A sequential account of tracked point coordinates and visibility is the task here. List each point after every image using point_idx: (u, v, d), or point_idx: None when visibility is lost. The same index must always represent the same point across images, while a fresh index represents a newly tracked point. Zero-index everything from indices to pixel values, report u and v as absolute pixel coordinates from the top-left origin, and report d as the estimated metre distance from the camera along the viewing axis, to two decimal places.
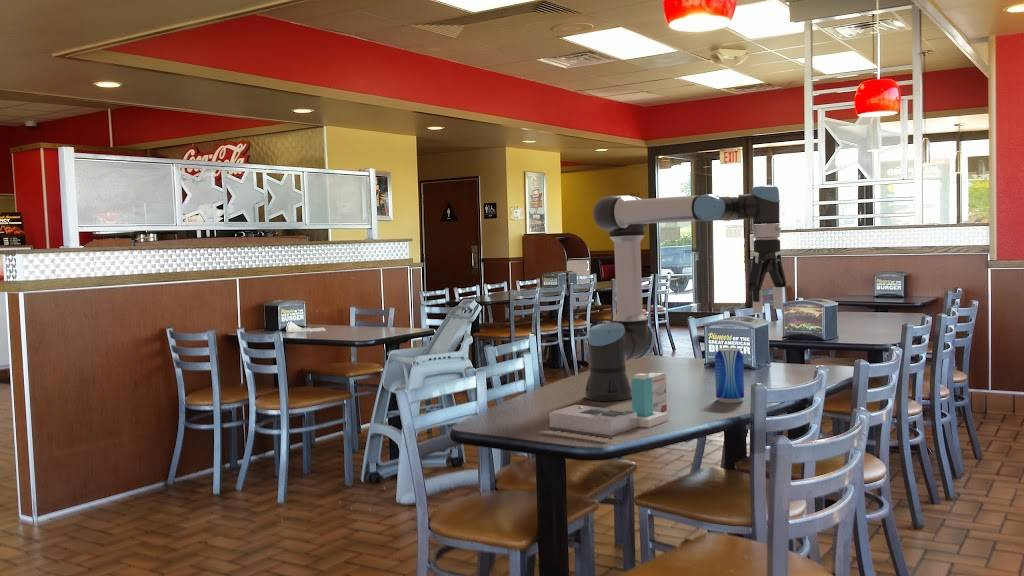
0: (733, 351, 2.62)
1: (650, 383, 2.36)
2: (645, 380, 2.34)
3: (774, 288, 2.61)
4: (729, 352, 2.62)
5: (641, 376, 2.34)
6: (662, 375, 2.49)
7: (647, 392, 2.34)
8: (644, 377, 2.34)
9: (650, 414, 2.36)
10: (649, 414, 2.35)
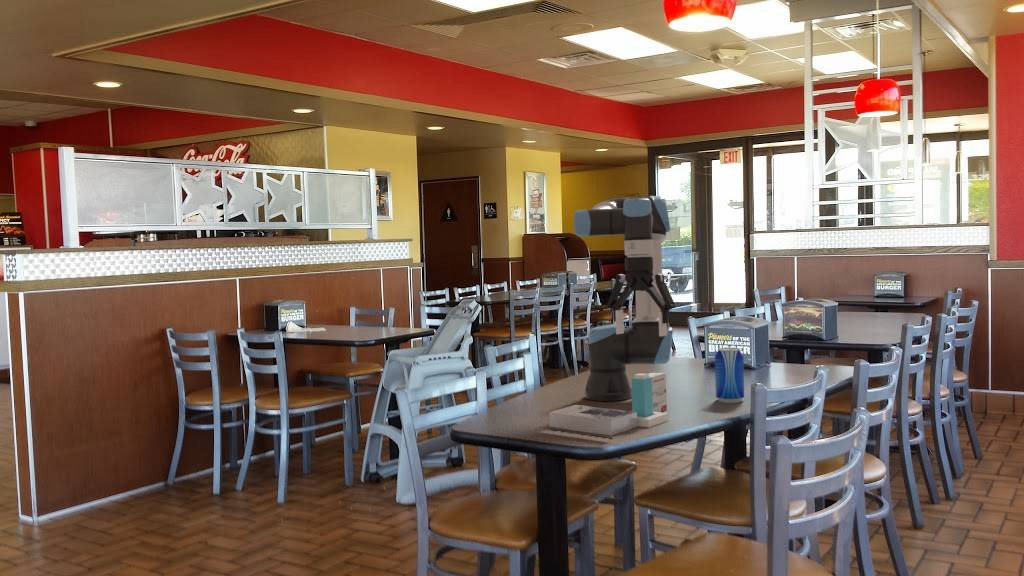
0: (733, 351, 2.62)
1: (650, 383, 2.36)
2: (645, 380, 2.34)
3: None
4: (729, 352, 2.62)
5: (641, 376, 2.34)
6: (662, 375, 2.49)
7: (647, 392, 2.34)
8: (644, 377, 2.34)
9: (650, 414, 2.36)
10: (649, 414, 2.35)
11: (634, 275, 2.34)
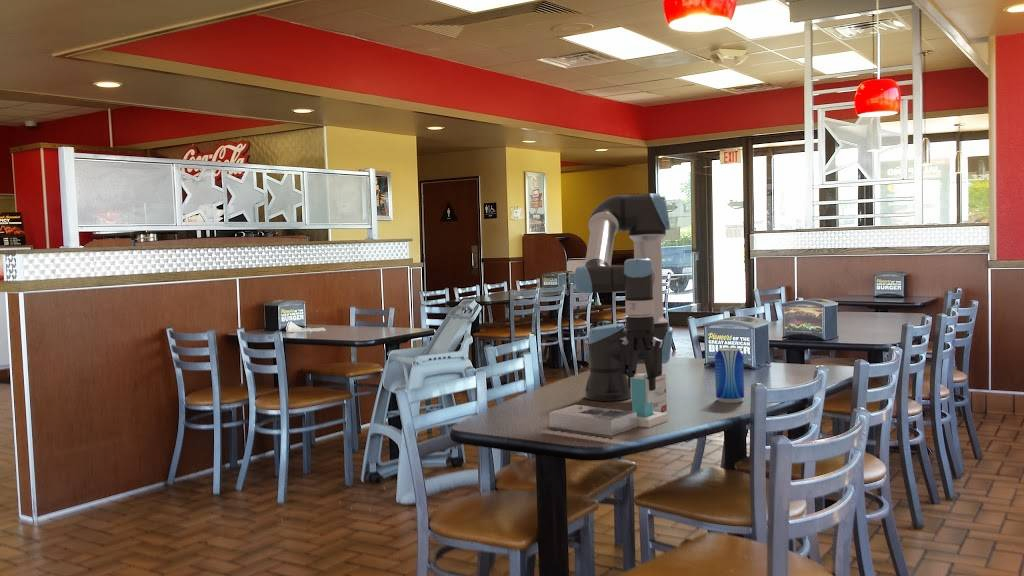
0: (733, 351, 2.62)
1: None
2: None
3: None
4: (729, 352, 2.62)
5: (641, 376, 2.34)
6: (662, 375, 2.49)
7: None
8: (644, 377, 2.34)
9: (650, 414, 2.36)
10: (649, 414, 2.35)
11: (633, 331, 2.35)
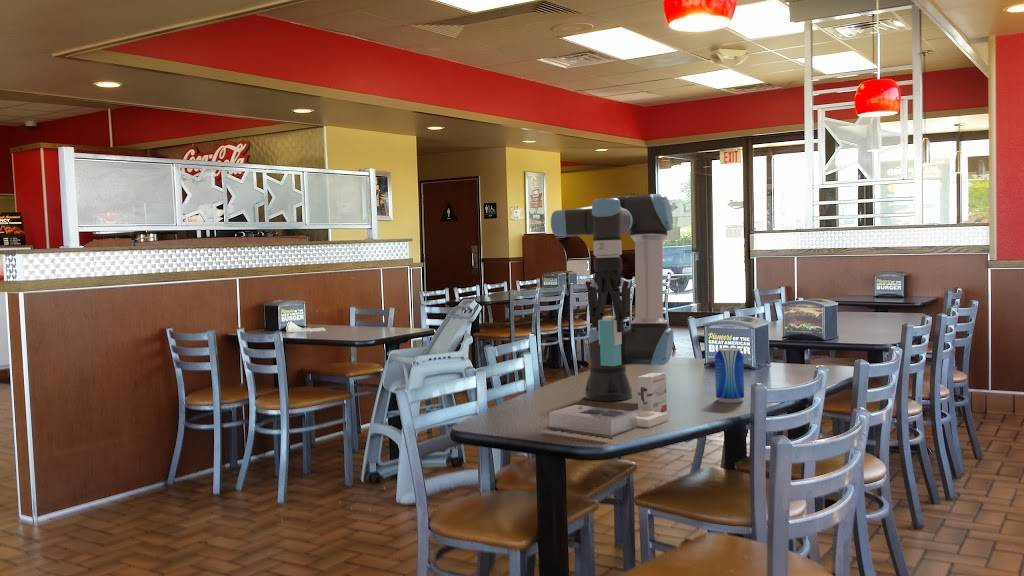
0: (733, 351, 2.62)
1: None
2: None
3: None
4: (729, 352, 2.62)
5: (609, 318, 2.31)
6: (662, 375, 2.49)
7: None
8: (612, 319, 2.31)
9: (618, 357, 2.32)
10: (617, 357, 2.32)
11: (601, 272, 2.32)
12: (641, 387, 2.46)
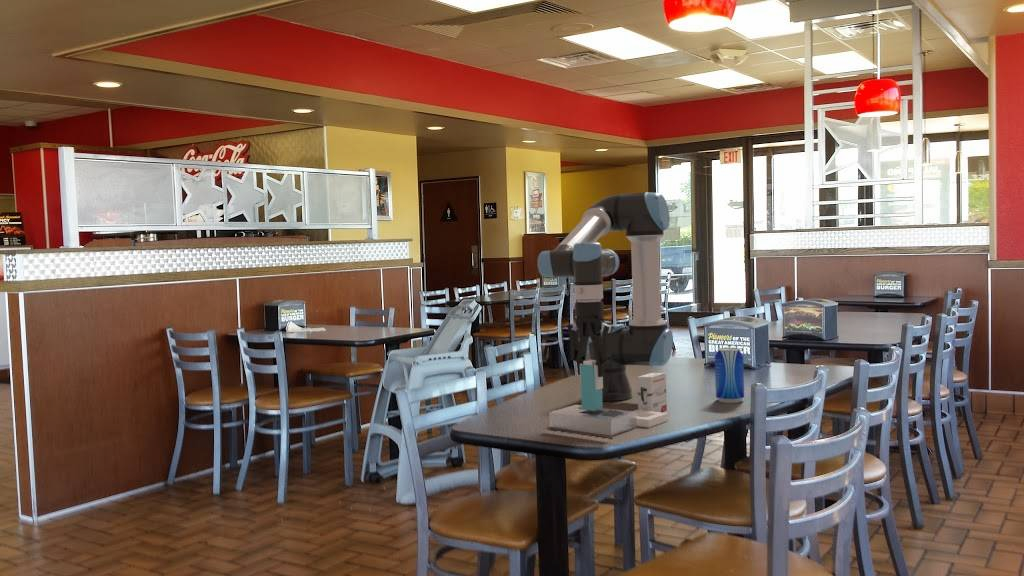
0: (733, 351, 2.62)
1: None
2: None
3: None
4: (729, 352, 2.62)
5: (590, 362, 2.30)
6: (662, 375, 2.49)
7: None
8: (593, 363, 2.30)
9: (599, 401, 2.32)
10: (598, 401, 2.31)
11: (582, 316, 2.31)
12: (641, 387, 2.46)
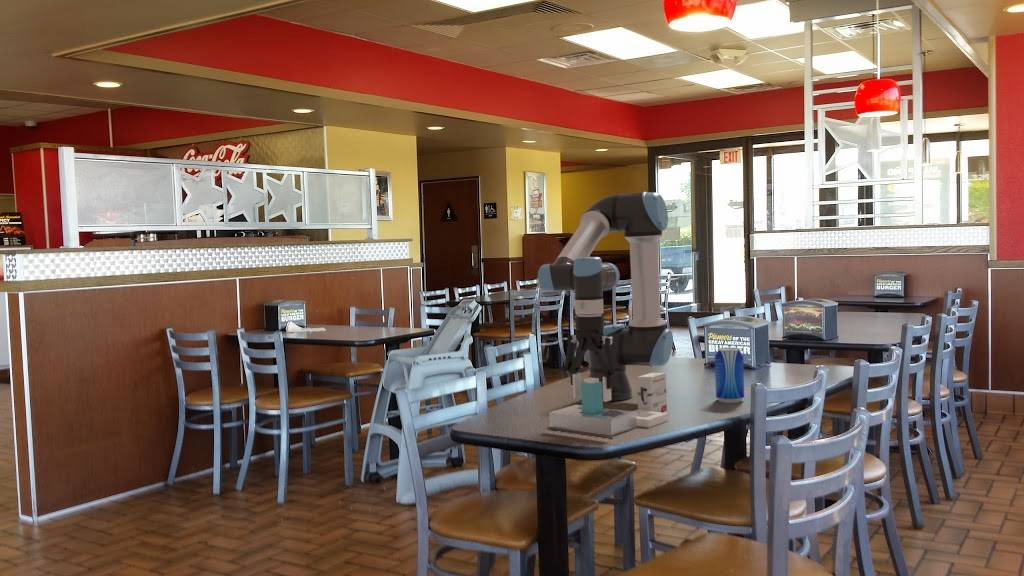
0: (733, 351, 2.62)
1: (600, 387, 2.32)
2: (595, 384, 2.30)
3: None
4: (729, 352, 2.62)
5: (591, 380, 2.30)
6: (662, 375, 2.49)
7: (597, 397, 2.31)
8: (594, 381, 2.31)
9: None
10: None
11: (584, 332, 2.31)
12: (641, 387, 2.46)
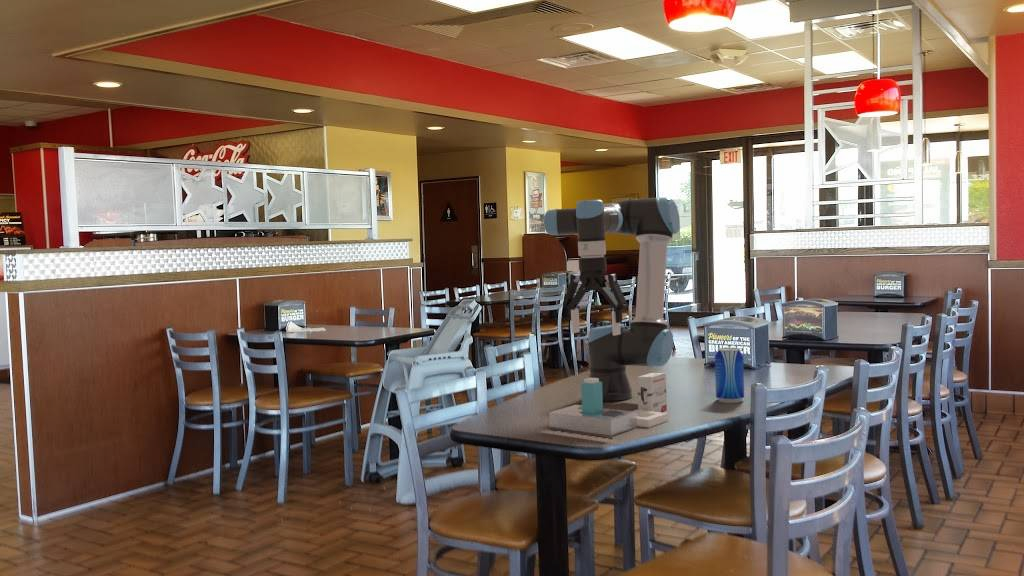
0: (733, 351, 2.62)
1: (600, 387, 2.32)
2: (595, 384, 2.30)
3: None
4: (729, 352, 2.62)
5: (591, 380, 2.30)
6: (662, 375, 2.49)
7: (597, 397, 2.31)
8: (594, 381, 2.31)
9: None
10: None
11: (588, 275, 2.38)
12: (641, 387, 2.46)
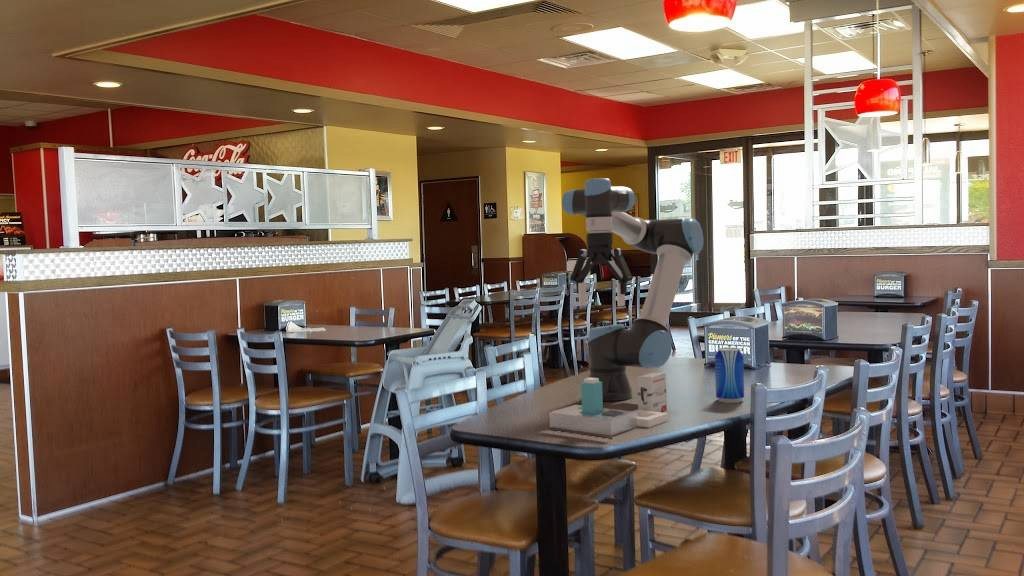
0: (733, 351, 2.62)
1: (600, 387, 2.32)
2: (595, 384, 2.30)
3: None
4: (729, 352, 2.62)
5: (591, 380, 2.30)
6: (662, 375, 2.49)
7: (597, 397, 2.31)
8: (594, 381, 2.31)
9: None
10: None
11: (595, 250, 2.52)
12: (641, 387, 2.46)
